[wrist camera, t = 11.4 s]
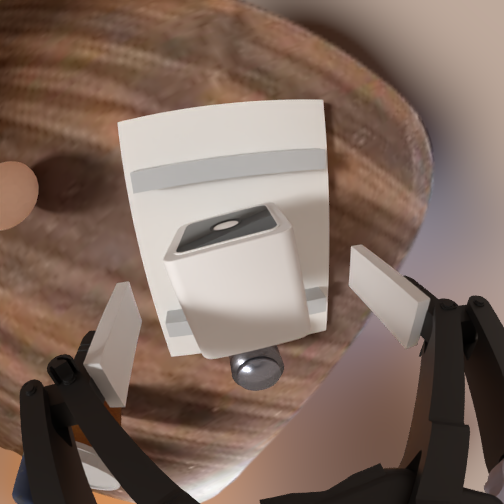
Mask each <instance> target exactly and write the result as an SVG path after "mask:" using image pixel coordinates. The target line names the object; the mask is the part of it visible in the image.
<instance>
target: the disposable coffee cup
mask: <svg viewBox="0 0 504 504" xmlns="http://www.w3.org/2000/svg"><path fill="white" fill-rule="evenodd" d="M104 406H105V407H106V408H107V410H108V411H109V412H110V413H111V415H112V416H113V417H114V419H115V420H116V421H117V422H118V423H119V425H120V426H121V407H110V406H109V405H108V404H107V402H106V401H104ZM72 430H73V434H74V438H75V442H76V445H77V449H78V452H79V455H80V459H81V462H82V465H83V468H84V471H85V474H86V477H87V479H88V482H89V485H90V488H93V489H98V490H116V489H118V488H119V487H120V484H119V482H118V481H117V480H116V479H115V477H114V476H113V475H112V474H111V472H110V471H109V470H108V468H107V467H106V466H105V464H104V463H103V462H102V460H101V459H100V457H99V456H98V455H97V453H96V452H95V450H94V449H93V447H92V446H91V444H90V443H89V441H88V440H87V438H86V437H85V435H84V433H83V432H82V430H81V429H80V427H79V425H74V426H72Z"/></svg>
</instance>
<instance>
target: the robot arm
mask: <svg viewBox="0 0 504 504" xmlns="http://www.w3.org/2000/svg"><path fill="white" fill-rule="evenodd" d="M349 287H350V288H351V289H352V290H353V291H354V292H355V293H356V294H357V295H358V296H359V297H360V298H361V300H362V301H363V302H364V303H365V304H366V305H367V306H368V307H369V308H370V310H371V311H372V312H373V313H374V314H375V315H376V316H377V317H378V318H379V320H380V321H381V322H382V323H383V324H384V325H385V326H386V327H387V329H388V330H389V331H390V332H391V333H392V334H393V335H394V336H395V338H396V339H397V340H398V341H399V342H400V344H401V345H402V346H403V347H404V348H405V349H408V348H411V347H413V346H416V345H417V344H418V341H419V338H420V335H421V336H422V337H423V338H424V343H423V346H422V349H421V352H420V355H419V356H421V355H422V359H421V367H420V375H419V383H418V390H417V396H416V402H415V408H414V413H413V419H412V423H411V428H410V432H409V437H408V441H407V445H406V449H405V453H404V456H403V459H402V461H401V463H400V465H399V467H398V468H384V469H383V468H382V466H381V464H377V465H375V466H373V467H370V468H368V469H365V470H363V471H360V472H358V473H355V474H353V475H351V476H350V477H348V478H347V479H345V480H344V481H342V482H340V483H339V484H337V485H335V486H334V487H332V488H330V489H329V490H326V491H322V492H309V493H290V494H286V495H282V496H277V497H273V498H267V499H262V500H260V504H504V327H503V325H502V324H501V322H500V320H499V319H498V317H497V315H496V313H495V312H494V310H493V309H492V307H491V305H490V304H489V302H488V301H487V300H486V299H485V298H483V297H481V296H471V297H470V298H469V300H468V303H467V305H462V306H458V305H457V304H456V303H455V302H454V301H452V300H449V299H437V298H436V297H435V296H434V295H432V294H431V293H430V292H429V291H428V290H426V289H424V287H423V286H421V285H419V284H418V282H416V281H415V280H414V279H412V278H410V277H407V276H402V275H401V274H400V273H398V272H397V271H396V270H395V269H393V268H392V267H391V266H389V265H388V264H387V263H386V262H384V261H383V260H382V259H380V258H379V257H378V256H377V255H375V254H374V253H373V252H371V251H370V250H369V249H367V248H366V247H365V246H363V245H362V244H361V245H355V246H351V259H350V274H349ZM141 323H142V320H141V317H140V314H139V311H138V308H137V305H136V302H135V299H134V296H133V293H132V290H131V286H130V283H129V282H122V283H117V284H116V286H115V288H114V291H113V293H112V295H111V297H110V299H109V302H108V304H107V306H106V308H105V311H104V313H103V315H102V318H101V320H100V322H99V325H98V327H97V330H96V331H89V332H88V333H87V334H86V335H85V336H84V337H83V339H82V342H81V344H80V346H79V349H78V352H77V354H76V356H75V358H74V359H73V358H72V357H71V356H70V355H66V354H64V355H59V356H57V357H55V358H54V359H52V360H51V361H50V363H49V364H48V367H47V372H48V374H49V375H50V377H51V378H52V380H53V381H54V383H55V384H52V385H49V386H45V387H44V386H43V385H42V383H41V382H40V381H39V380H30V381H28V382H26V383H25V384H24V385H23V386H22V388H21V390H20V418H21V432H22V442H23V451H24V458H25V465H26V471H27V476H28V481H29V486H30V491H31V495H32V500H33V504H97V503H96V500H95V498H94V495H93V493H92V490H91V488H90V485H89V482H88V479H87V477H86V474H85V471H84V468H83V465H82V462H81V459H80V455H79V452H78V449H77V445H76V442H75V438H74V434H73V430H72V426H74V425H79V427H80V429H81V430H82V432H83V433H84V435H85V437H86V438H87V440H88V441H89V443H90V444H91V446H92V447H93V449H94V450H95V452H96V453H97V455H98V456H99V457H100V459H101V460H102V462H103V463H104V464H105V466H106V467H107V468H108V470H109V471H110V472H111V474H112V475H113V476H114V477H115V479H116V480H117V481H118V482H119V484H120V485H121V486H122V487H123V489H124V490H125V491H126V492H127V493H128V494H129V496H130V497H131V498H132V499H133V500H134V501H135V502H136V503H137V504H200V503H199V502H197V501H196V500H195V499H194V498H192V497H191V496H190V495H189V494H188V493H186V492H185V491H184V490H182V489H181V488H180V487H179V486H178V485H176V484H175V483H174V482H173V481H172V480H171V479H170V478H169V477H168V476H167V475H166V474H165V473H164V472H163V471H162V470H161V469H160V468H159V467H158V466H157V465H156V464H155V463H154V462H153V461H152V460H151V459H150V458H149V457H148V456H147V455H146V454H145V453H144V452H143V451H142V450H141V449H140V448H139V447H138V446H137V444H136V443H135V442H134V441H133V440H132V439H131V438H130V436H129V435H128V434H127V433H126V432H125V431H124V429H123V428H122V427H121V426H120V425H119V423H118V422H117V421H116V420H115V419H114V417H113V416H112V415H111V413H110V412H109V411H108V410H107V408H106V407H105V406H104V401H106V402H107V404H108V405H109V406H110V407H125V406H126V399H127V393H128V387H129V382H130V376H131V371H132V365H133V360H134V355H135V350H136V346H137V341H138V336H139V332H140V327H141ZM464 372H465V375H466V378H467V382H468V385H469V389H470V393H471V396H472V400H473V404H474V408H475V412H476V417H477V421H478V426H479V431H480V436H481V442H482V447H483V453H484V458H485V463H486V466H487V469H488V473H489V476H488V481H487V482H486V484H485V486H484V490H485V492H486V493H483V492H479V491H475V490H471V489H467V488H464V487H463V484H464V479H465V473H466V465H467V458H468V449H469V436H470V428H469V425H464V403H465V377H464V376H465V375H464Z"/></svg>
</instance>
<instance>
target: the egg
mask: <svg viewBox="0 0 504 504" xmlns="http://www.w3.org/2000/svg"><path fill="white" fill-rule="evenodd" d="M38 190H39V186H38V181H37V178H36V176H35V174H34V172H33V171H32V170H31V169H30V168H29V167H28V166H27V165H25V164H23V163H20V162H15V161H8V162H3V163H0V230H6V229H9V228H12V227H14V226H16V225H18V224H19V223H21V222H22V221H23V220H25V219H26V218H27V216H28V215H29V214H30V213H31V211H32V210H33V208H34V206H35V204H36V202H37V198H38Z"/></svg>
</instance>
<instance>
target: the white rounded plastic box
mask: <svg viewBox="0 0 504 504" xmlns="http://www.w3.org/2000/svg"><path fill="white" fill-rule="evenodd" d="M163 262H164V265H165V268H166V270H167V273H168V275H169V278H170V280H171V283H172V285H173V288H174V290H175V293H176V295H177V298H178V300H179V303H180V305H181V307H182V310H183V312H184V315H185V317H186V319H187V322H188V324H189V326H190V328H191V331H192V333H193V335H194V337H195V340H196V342H197V344H198V346H199V348H200V351H201V353H202V355H203V356H204V357H205V358H207V359H217V358H221V357H226V356H231V355H235V354H240V353H244V352H249V351H253V350H257V349H261V348H265V347H270V346H273V345H277V344H281V343H285V342H289V341H293V340H296V339H300V338H302V337H305V336H306V335H308V334H309V332H310V331H311V324H310V318H309V312H308V306H307V300H306V294H305V288H304V283H303V277H302V272H301V266H300V261H299V255H298V250H297V245H296V240H295V235H294V230H293V225H292V224H291V222H290V221H289V220H288V219H287V217H286V216H285V215H284V214H283V212H282V211H281V210H280V209H279V207H278V206H277V205H276V204H275V203H273V202H268V203H262V204H258V205H254V206H250V207H246V208H242V209H239V210H235V211H231V212H227V213H223V214H220V215H216V216H212V217H209V218H205V219H201V220H198V221H194V222H191V223H187V224H185V225H183V226H181V227H179V228H178V230H177V232H176V234H175V236H174V238H173V240H172V242H171V244H170V246H169V248H168V250H167V252H166V254H165V256H164V258H163Z"/></svg>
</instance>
